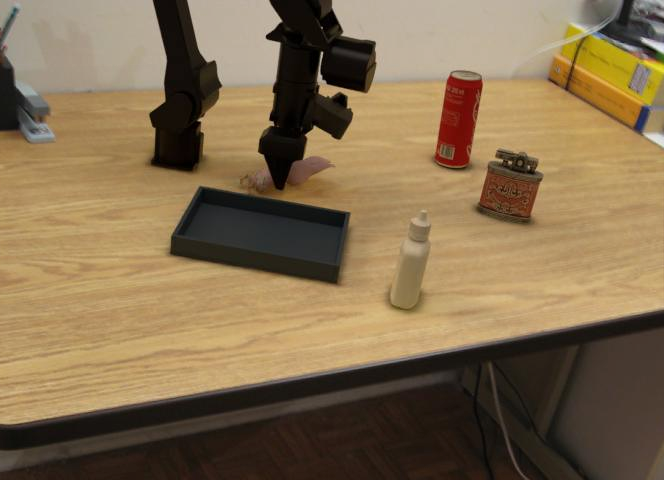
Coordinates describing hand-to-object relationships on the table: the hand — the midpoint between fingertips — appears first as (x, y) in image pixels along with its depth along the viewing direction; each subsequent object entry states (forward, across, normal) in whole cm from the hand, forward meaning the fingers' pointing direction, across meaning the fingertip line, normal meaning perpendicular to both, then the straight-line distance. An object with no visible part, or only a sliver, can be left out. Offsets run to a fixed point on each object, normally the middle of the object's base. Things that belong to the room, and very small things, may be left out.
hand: (283, 179), depth 129 cm
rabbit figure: (+2, +1, -1) cm, 2 cm away
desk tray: (+1, -17, 0) cm, 17 cm away
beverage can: (+2, +21, -25) cm, 33 cm away
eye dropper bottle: (+1, -25, -19) cm, 32 cm away
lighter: (+1, +4, -33) cm, 33 cm away
